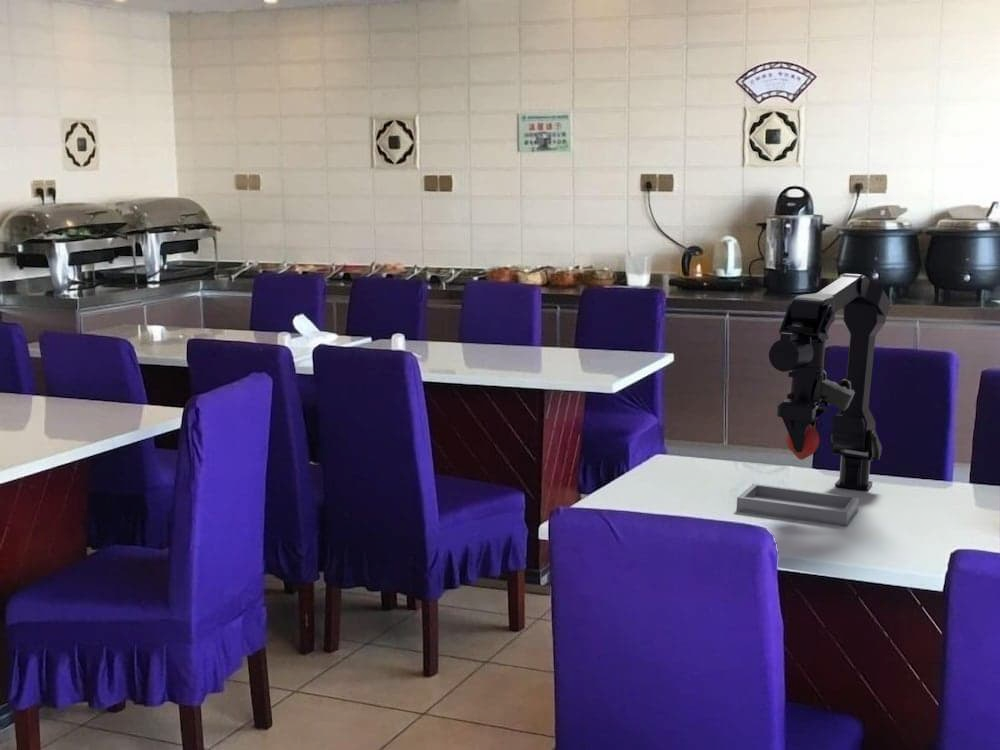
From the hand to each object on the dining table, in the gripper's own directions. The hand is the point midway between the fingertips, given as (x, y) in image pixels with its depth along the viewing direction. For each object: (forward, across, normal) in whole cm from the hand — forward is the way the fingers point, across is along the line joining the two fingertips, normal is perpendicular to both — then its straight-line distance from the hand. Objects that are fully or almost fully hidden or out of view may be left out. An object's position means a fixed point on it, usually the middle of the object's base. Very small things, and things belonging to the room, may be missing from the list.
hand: (802, 448), depth 224 cm
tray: (+12, 0, 0) cm, 12 cm away
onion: (+2, 0, 0) cm, 2 cm away
